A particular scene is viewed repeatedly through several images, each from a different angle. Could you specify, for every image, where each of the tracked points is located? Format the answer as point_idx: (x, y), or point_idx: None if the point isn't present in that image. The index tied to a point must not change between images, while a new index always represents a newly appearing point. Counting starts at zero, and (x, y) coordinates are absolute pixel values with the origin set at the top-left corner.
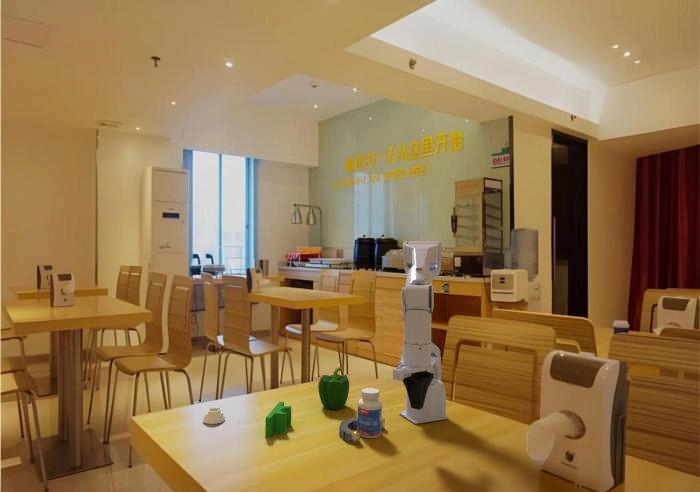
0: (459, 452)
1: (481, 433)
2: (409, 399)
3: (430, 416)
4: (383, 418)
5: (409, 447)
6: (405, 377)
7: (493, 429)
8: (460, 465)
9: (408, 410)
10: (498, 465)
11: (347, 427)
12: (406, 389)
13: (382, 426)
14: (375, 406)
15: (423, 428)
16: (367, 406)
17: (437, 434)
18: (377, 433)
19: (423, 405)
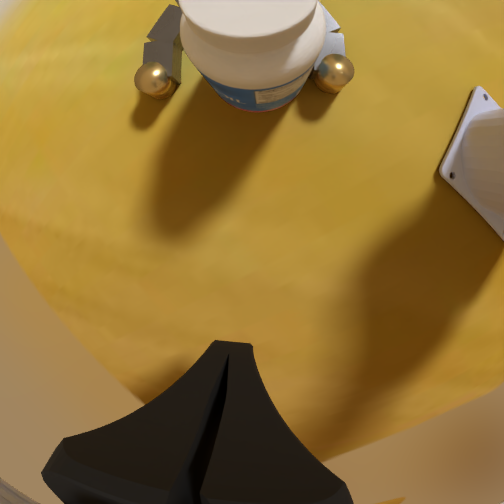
0: (309, 372)
1: (450, 355)
2: (195, 363)
3: (488, 208)
4: (352, 73)
5: (249, 249)
6: (17, 494)
7: (478, 360)
8: None
9: (478, 129)
10: None
11: None
12: (152, 401)
13: (324, 87)
14: (215, 76)
15: (424, 210)
16: (184, 47)
17: (402, 272)
18: (245, 110)
19: (501, 196)
